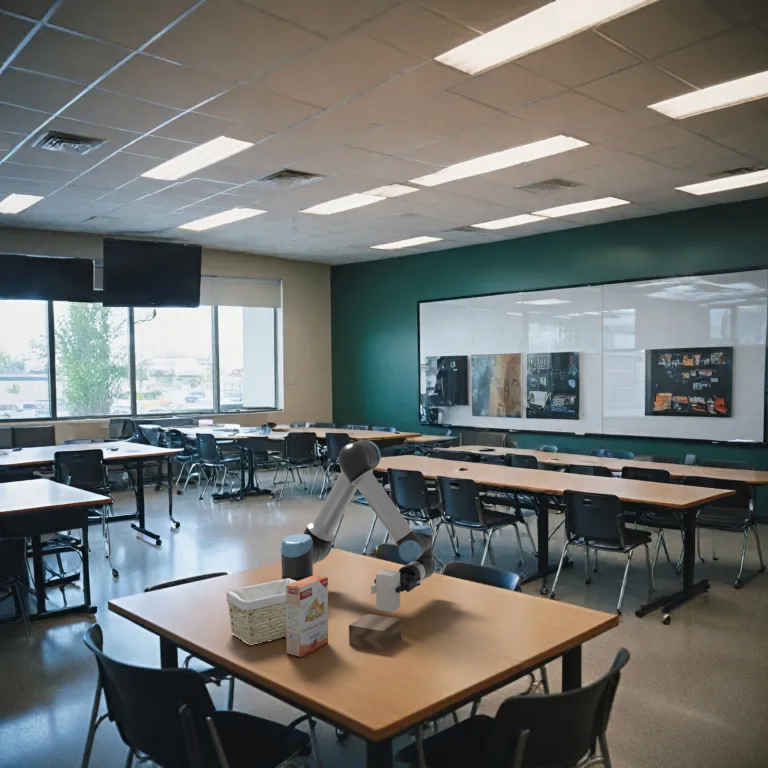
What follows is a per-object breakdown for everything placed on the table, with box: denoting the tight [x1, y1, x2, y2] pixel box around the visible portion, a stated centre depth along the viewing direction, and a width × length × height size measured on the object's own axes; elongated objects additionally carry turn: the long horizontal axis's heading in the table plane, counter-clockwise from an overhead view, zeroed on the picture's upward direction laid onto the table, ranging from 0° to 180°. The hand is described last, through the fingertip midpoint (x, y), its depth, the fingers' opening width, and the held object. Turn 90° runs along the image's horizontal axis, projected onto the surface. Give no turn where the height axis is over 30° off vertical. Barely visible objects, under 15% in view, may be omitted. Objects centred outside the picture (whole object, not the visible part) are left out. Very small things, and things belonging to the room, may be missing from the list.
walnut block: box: [348, 613, 402, 652], centre depth 221 cm, size 12×12×6 cm
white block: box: [375, 569, 401, 613], centre depth 240 cm, size 6×6×12 cm
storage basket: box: [225, 578, 297, 644], centre depth 230 cm, size 24×16×15 cm
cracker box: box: [285, 574, 329, 658], centre depth 216 cm, size 14×6×21 cm, turn 148°
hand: (381, 591), depth 235 cm, fingers closed on white block, 6 cm apart
